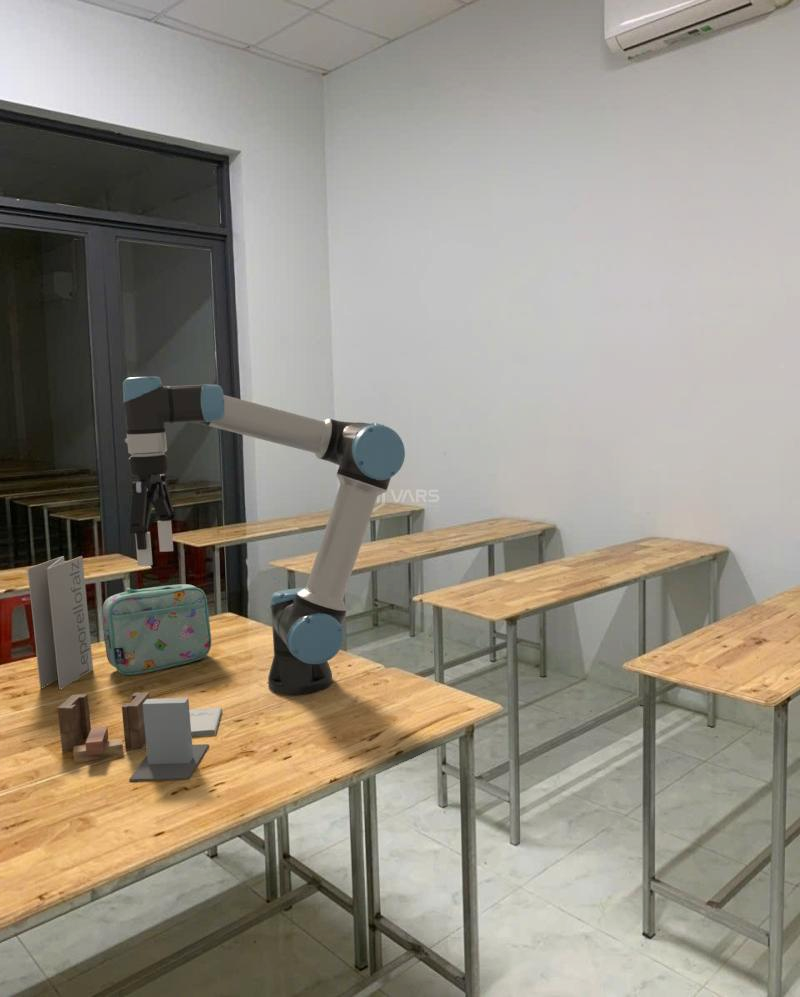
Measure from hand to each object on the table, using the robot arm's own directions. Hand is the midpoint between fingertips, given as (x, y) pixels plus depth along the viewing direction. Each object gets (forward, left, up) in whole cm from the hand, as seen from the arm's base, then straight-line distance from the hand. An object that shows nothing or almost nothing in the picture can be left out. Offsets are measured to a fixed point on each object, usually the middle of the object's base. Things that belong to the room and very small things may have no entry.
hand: (156, 558), depth 168 cm
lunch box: (+15, -40, -37) cm, 57 cm away
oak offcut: (+11, +12, -37) cm, 40 cm away
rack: (+11, +6, -37) cm, 39 cm away
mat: (-5, +16, -37) cm, 40 cm away
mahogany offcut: (+10, +12, -35) cm, 38 cm away
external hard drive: (-6, -2, -38) cm, 38 cm away
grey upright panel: (-5, +16, -36) cm, 40 cm away
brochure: (+36, -32, -37) cm, 61 cm away
